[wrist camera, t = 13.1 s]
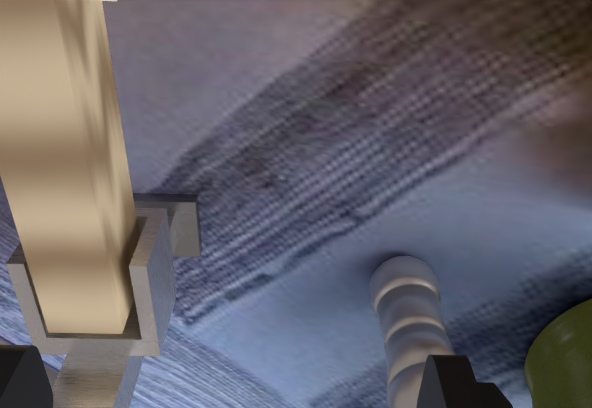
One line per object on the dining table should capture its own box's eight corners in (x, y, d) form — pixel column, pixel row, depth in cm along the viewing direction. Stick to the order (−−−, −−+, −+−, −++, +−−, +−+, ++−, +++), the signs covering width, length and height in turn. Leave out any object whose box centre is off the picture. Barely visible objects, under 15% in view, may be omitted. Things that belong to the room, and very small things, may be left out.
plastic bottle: (356, 291, 56) (382, 486, 39) (380, 239, 52) (419, 429, 36) (417, 304, 57) (467, 500, 40) (444, 253, 53) (511, 445, 37)
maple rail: (-18, -140, 26) (-94, -133, 21) (79, -137, 26) (27, -129, 21) (80, 267, 39) (48, 332, 34) (144, 269, 39) (122, 333, 34)
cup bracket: (94, 131, 46) (-38, 328, 28) (192, 133, 46) (124, 331, 28) (116, 246, 53) (21, 467, 35) (201, 248, 53) (151, 469, 35)
